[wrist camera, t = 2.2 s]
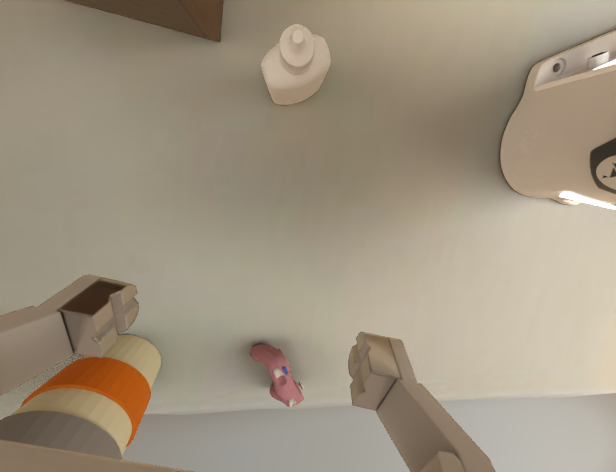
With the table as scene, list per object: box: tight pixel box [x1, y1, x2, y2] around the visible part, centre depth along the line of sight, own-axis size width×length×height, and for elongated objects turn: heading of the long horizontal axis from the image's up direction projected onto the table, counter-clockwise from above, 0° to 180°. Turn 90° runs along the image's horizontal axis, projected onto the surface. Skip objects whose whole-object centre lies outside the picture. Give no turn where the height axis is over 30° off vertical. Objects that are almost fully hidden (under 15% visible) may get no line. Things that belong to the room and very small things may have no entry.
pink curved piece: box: [250, 345, 304, 408], centre depth 36 cm, size 10×5×7 cm, turn 17°
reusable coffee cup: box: [0, 335, 161, 460], centre depth 29 cm, size 13×12×15 cm
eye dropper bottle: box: [261, 24, 331, 105], centre depth 21 cm, size 4×6×12 cm
